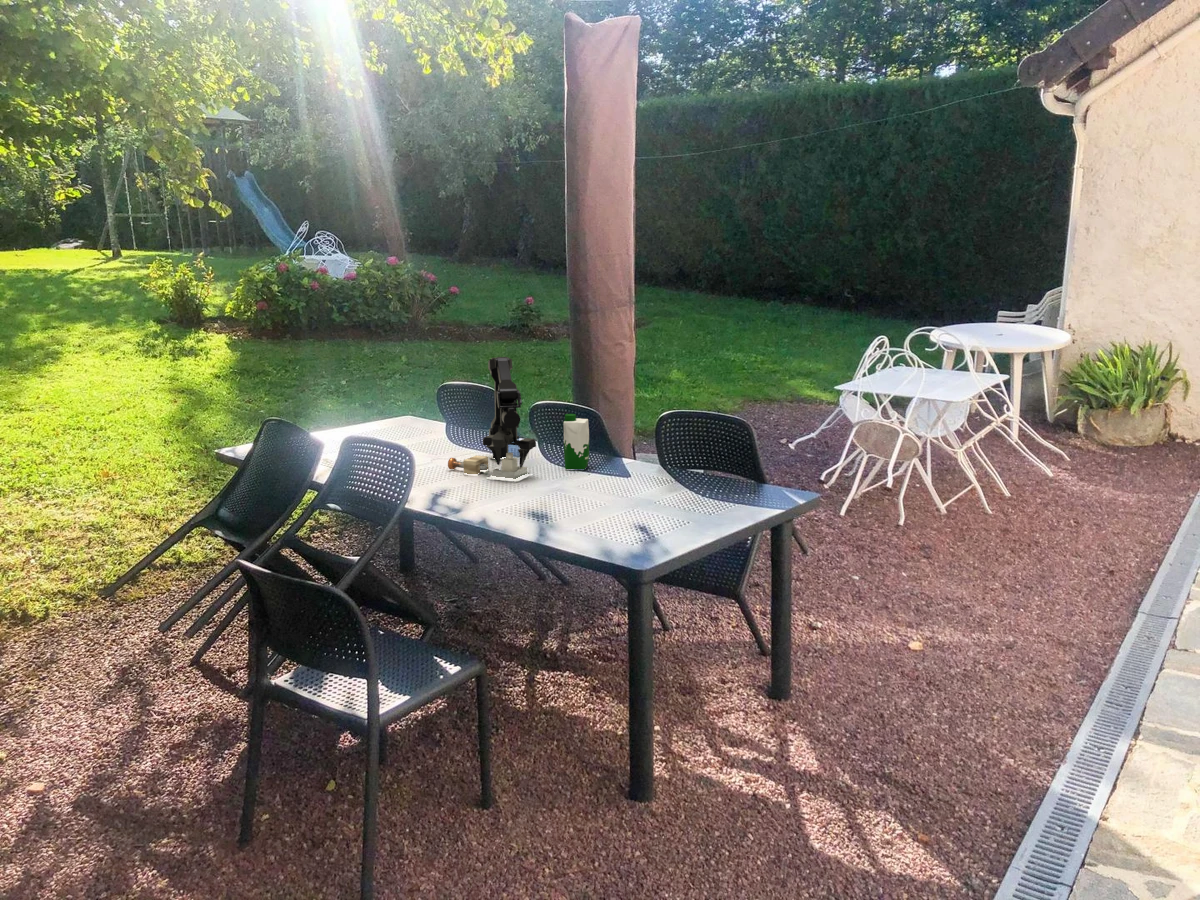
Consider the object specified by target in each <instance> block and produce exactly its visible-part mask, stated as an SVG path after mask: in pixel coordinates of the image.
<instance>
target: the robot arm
mask: <svg viewBox="0 0 1200 900" xmlns="http://www.w3.org/2000/svg"><path fill="white" fill-rule="evenodd" d="M487 366H488V367H487V368H488V371H489V373H490V376H491V378H492V379H493V381H494V382H493V383H494V417H493V419H492V420H491V422H490V428H489V429H488V435H487V436H484V437H483V439H482V446H485V447H486V448H487V449H489V450H490V452H491V453H492V456H493V458H495V459H494V461H495V463H496V464H497V466H499V465H500V464H501V460H500V458H502V457H506V453H509V445H510V446H517V447H518V448H519V449H517V451H518V453H519V466H520V467H524V463H525V462H526V461H525V460H526V459H527V456H528V454H529V453H530V451H531V450H532V449H533V448H536V447H537V442H536V440H535V438H527V437H526V438H523V439H520V436H519V435H518V428H519V427H520V423H521V416H520V414H519V413H518V409H520V408H522V405H523V404H522V403H523V401H522V395H521V391H520V390H519V389H518V387H517V383H516V382H513V381H512V375H511V370H512V369H513V359H512V358H510V357H507V356H497V357H491V358H490V359H488V363H487Z"/></svg>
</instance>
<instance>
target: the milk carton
mask: <svg viewBox="0 0 1200 900" xmlns="http://www.w3.org/2000/svg"><path fill="white" fill-rule="evenodd" d="M589 458H590V428H589V419H588V418H578V417H577V414H575V413H566V414H564V420H563V461H564V470H565V469H585V468H586V467H587V468H588V466H587V465H589ZM587 468H586V469H587ZM586 469H585V470H586Z"/></svg>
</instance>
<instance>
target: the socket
mask: <svg viewBox="0 0 1200 900" xmlns="http://www.w3.org/2000/svg"><path fill="white" fill-rule="evenodd" d="M491 473H492V474H491V475H492V476H496V477H505V478H513V479H516V478H518V477H520V476H522V475H525V474H527V473H528V467H527V466H522V467H520V465H518V470H516V471H514V472H511V471H502V465H501V466H500V468H494V469H492V471H491Z"/></svg>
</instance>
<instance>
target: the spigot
mask: <svg viewBox="0 0 1200 900" xmlns="http://www.w3.org/2000/svg"><path fill="white" fill-rule="evenodd" d="M501 466H502V471H511V472H514V471H516V470H518V466H519V465H518V457H514V453H513V452H509V451H508V453H506V458H504V459H502V460H501Z"/></svg>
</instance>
